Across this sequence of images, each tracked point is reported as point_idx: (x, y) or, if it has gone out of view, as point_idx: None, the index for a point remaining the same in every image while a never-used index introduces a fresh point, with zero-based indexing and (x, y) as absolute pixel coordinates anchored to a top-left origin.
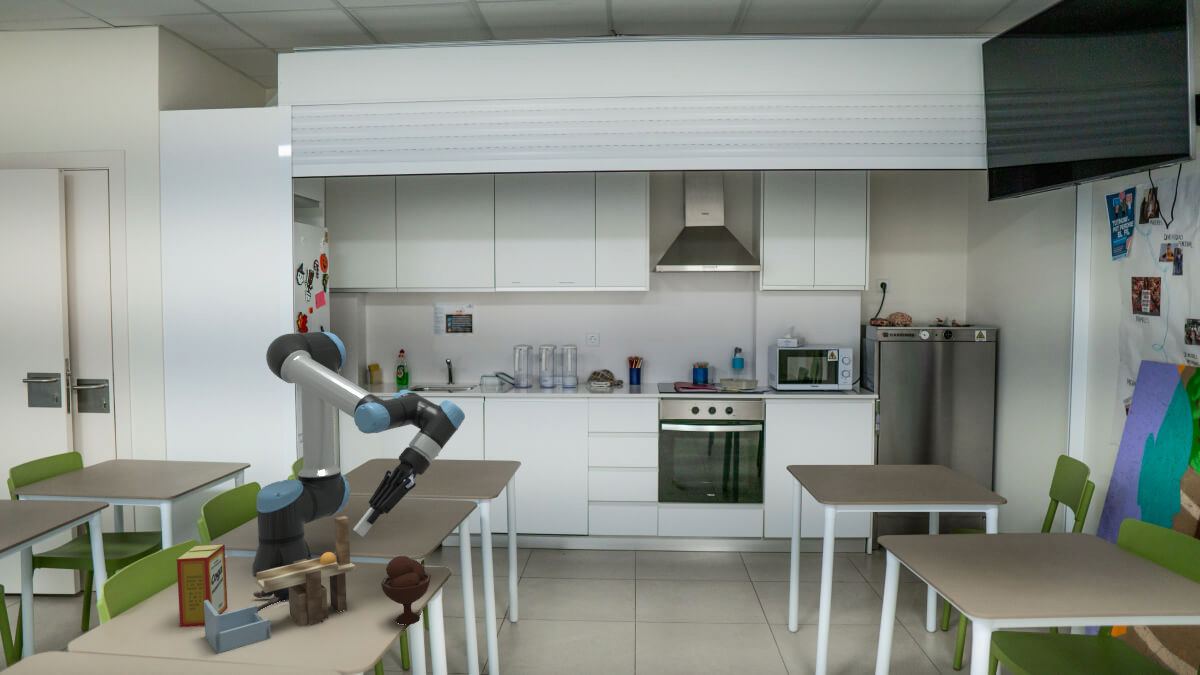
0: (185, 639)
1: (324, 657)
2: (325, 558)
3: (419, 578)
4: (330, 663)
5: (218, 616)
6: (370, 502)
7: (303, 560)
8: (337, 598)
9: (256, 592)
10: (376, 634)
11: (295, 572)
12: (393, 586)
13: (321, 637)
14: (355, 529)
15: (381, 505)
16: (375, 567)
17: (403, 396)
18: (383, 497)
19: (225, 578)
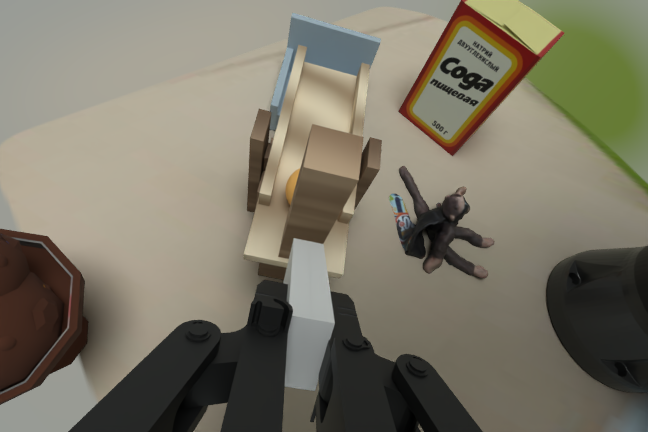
0: (372, 75)
1: (98, 130)
2: (298, 169)
3: None
4: (65, 122)
5: (291, 18)
6: (397, 358)
7: (370, 159)
8: None
9: (461, 188)
10: (71, 239)
11: (292, 99)
12: None
13: (182, 171)
14: (300, 241)
15: (189, 333)
16: None
17: None
18: (252, 406)
19: (484, 116)
